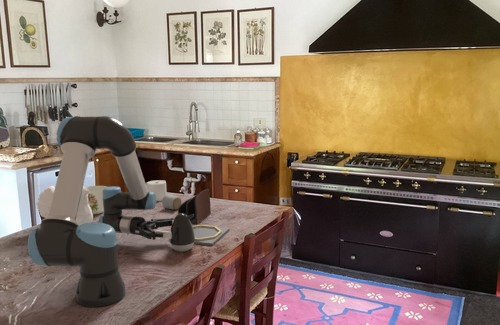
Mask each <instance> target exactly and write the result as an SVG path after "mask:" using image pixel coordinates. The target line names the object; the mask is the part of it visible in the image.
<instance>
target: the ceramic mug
mask: <svg viewBox="0 0 500 325" xmlns="http://www.w3.org/2000/svg"><path fill="white" fill-rule="evenodd" d="M181 204H183V202H182V199H181V198H180V197H179V196H177V195H174V194H170V193H167V194H166V195H165V196H164V197H163V199H162V201H161V205H162V207H163V208H164V209H167V210H173V211H178V208H179V207H180V205H181Z"/></svg>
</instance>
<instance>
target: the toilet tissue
mask: <svg viewBox="0 0 500 325" xmlns="http://www.w3.org/2000/svg"><path fill="white" fill-rule="evenodd" d="M145 184H146V187H147V190H148V192H154V193H155V195H156V202H162V199H163V197H164V196H165V195H166V194H168V192H167V182H166V180H163V179H162V180H161V179H159V180H157V179H156V180H150V181H148V182H145Z"/></svg>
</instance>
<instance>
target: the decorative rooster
mask: <svg viewBox="0 0 500 325" xmlns="http://www.w3.org/2000/svg"><path fill="white" fill-rule="evenodd" d="M85 188H86V187H85V186H84V185H83V189H82V194H81V198H80V203H79V207H78V212H77V216H76V222H77V224H78V225H81V224H84V223H92V222H94V221H93V220H94V214H92V210H91V208H90V206H89V203H88V194H87V193H88V191H89V190H87V189H85ZM54 190H55V186H54V185H50V186H48V187H46V188H45V189H44V190H43V191H42V192H40V194H39V195H38V201H36V206H37V209H38V211H39V214H40V216H41V217H42V218H44V219H45V218H46V217H48V214H49V210H50V206H51V202H52V198H53V194H54Z"/></svg>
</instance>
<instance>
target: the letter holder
mask: <svg viewBox="0 0 500 325" xmlns="http://www.w3.org/2000/svg"><path fill="white" fill-rule="evenodd" d="M210 192H211V191H210V189H209V188H205V189H204V190H202V191H200V192H199V193H198V194H195V196H192V197H191V198H188V199H187V200H185V201H184V202H182V204H181V205H180V207H179V208H178V209H177V215H178V214H180V213H183V214H186V215H187V216H189V215H191V214H194V217H192V218H190V219H189V220H190V222H191V224H192V225H200V223H202V221H203V220H205V219H206V218H207V217H208V216H209V215H210V214H211V213H212V210H211V196H210V194H211V193H210Z"/></svg>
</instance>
